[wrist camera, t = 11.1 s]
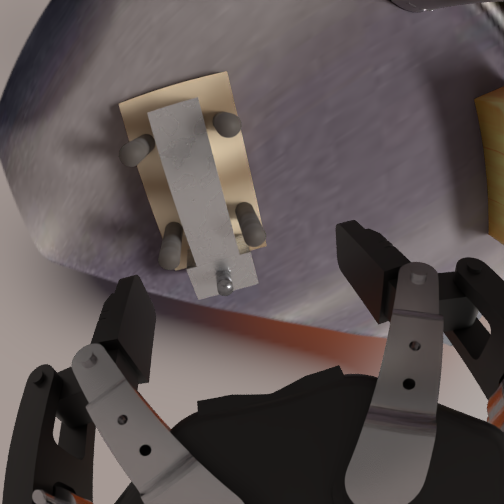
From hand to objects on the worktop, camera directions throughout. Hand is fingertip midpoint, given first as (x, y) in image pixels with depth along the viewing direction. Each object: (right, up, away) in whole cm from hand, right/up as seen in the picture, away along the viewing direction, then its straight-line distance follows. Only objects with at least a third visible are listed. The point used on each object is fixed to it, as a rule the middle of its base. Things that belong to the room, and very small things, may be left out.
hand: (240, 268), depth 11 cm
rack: (-5, +8, +16) cm, 19 cm away
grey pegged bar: (-4, +6, +16) cm, 18 cm away
